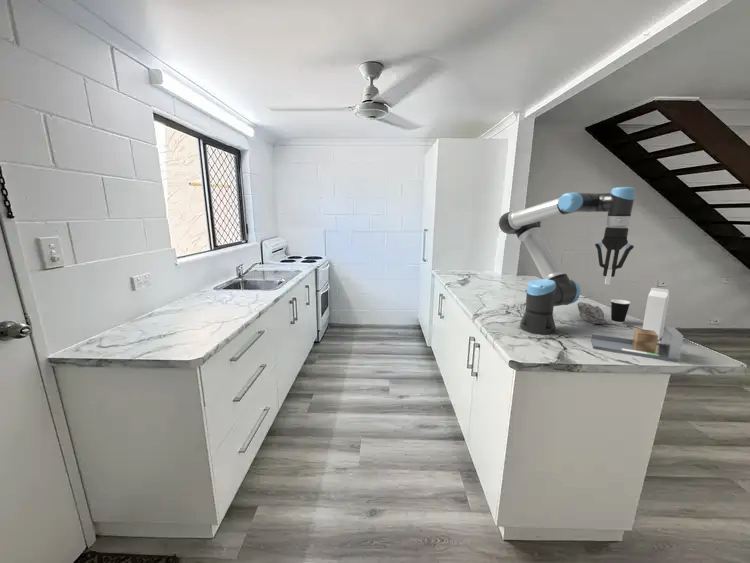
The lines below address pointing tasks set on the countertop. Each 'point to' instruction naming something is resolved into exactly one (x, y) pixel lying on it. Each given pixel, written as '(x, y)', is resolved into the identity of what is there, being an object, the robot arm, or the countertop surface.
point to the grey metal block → (671, 342)
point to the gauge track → (625, 347)
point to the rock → (591, 313)
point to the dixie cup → (619, 310)
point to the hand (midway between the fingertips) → (607, 283)
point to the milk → (656, 310)
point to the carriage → (645, 340)
